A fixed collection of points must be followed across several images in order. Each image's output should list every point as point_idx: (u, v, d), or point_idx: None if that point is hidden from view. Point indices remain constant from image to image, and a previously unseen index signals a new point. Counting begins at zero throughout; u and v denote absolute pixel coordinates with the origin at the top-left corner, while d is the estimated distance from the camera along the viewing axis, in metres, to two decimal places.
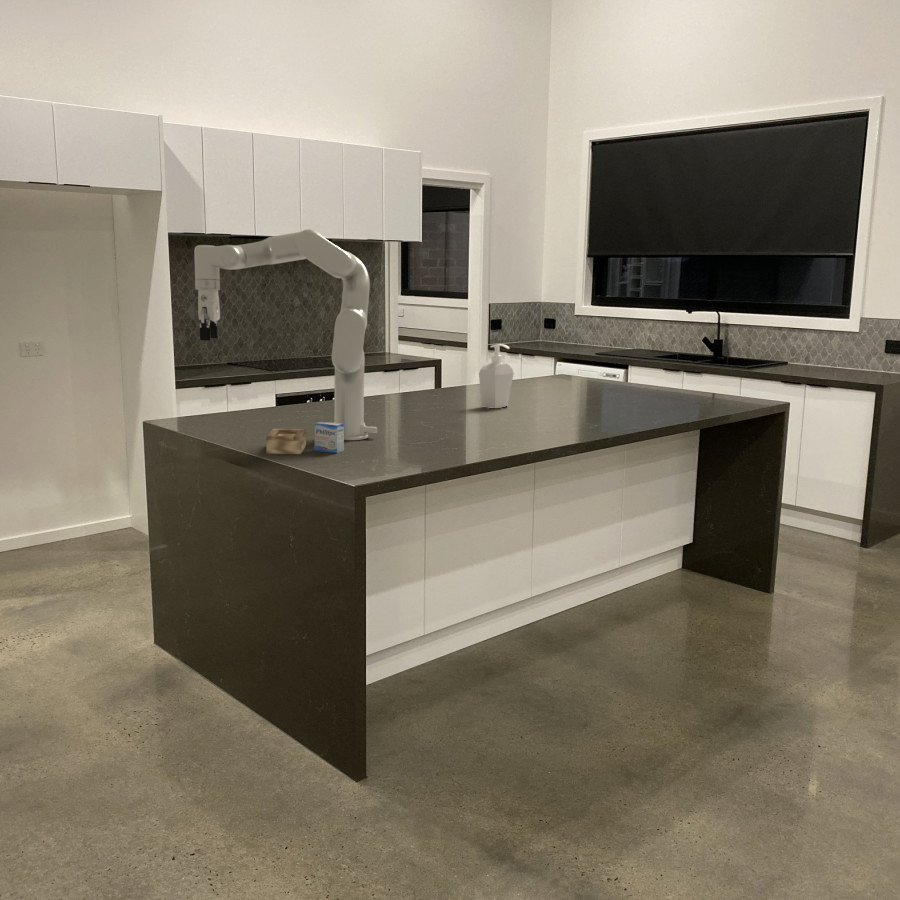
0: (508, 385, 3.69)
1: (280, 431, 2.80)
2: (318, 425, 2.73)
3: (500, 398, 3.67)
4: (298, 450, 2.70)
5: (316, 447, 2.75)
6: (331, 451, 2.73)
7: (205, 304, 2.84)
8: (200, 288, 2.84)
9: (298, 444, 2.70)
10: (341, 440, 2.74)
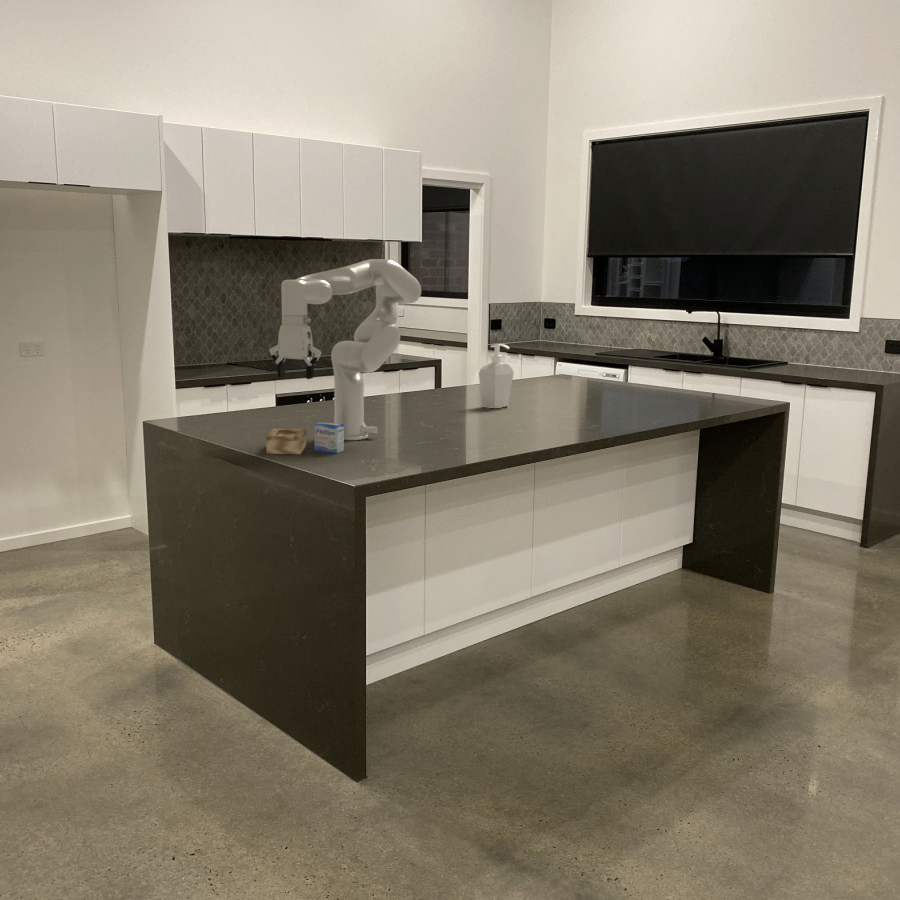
0: (508, 385, 3.69)
1: (280, 431, 2.80)
2: (318, 425, 2.73)
3: (500, 398, 3.67)
4: (298, 450, 2.70)
5: (316, 447, 2.75)
6: (331, 451, 2.73)
7: (310, 341, 2.74)
8: (302, 325, 2.71)
9: (298, 444, 2.70)
10: (341, 440, 2.74)
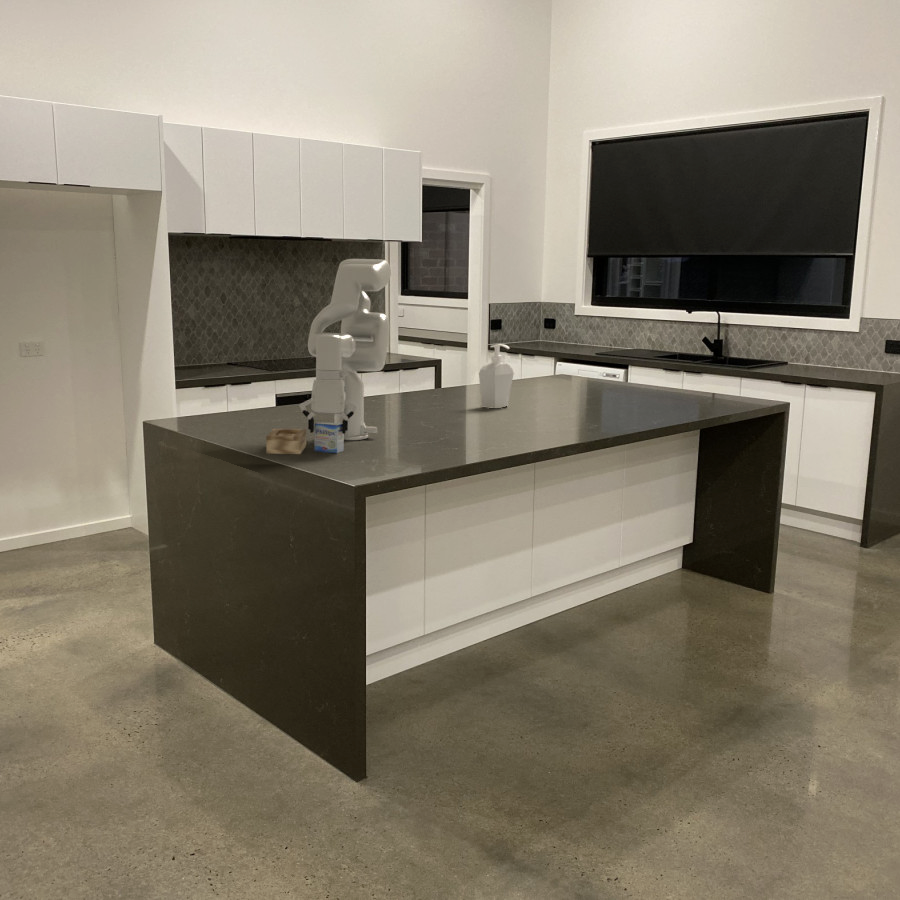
0: (508, 385, 3.69)
1: (280, 431, 2.80)
2: (318, 425, 2.73)
3: (500, 398, 3.67)
4: (298, 450, 2.70)
5: (316, 447, 2.75)
6: (331, 451, 2.73)
7: (345, 395, 2.72)
8: (339, 380, 2.69)
9: (298, 444, 2.70)
10: (341, 440, 2.74)
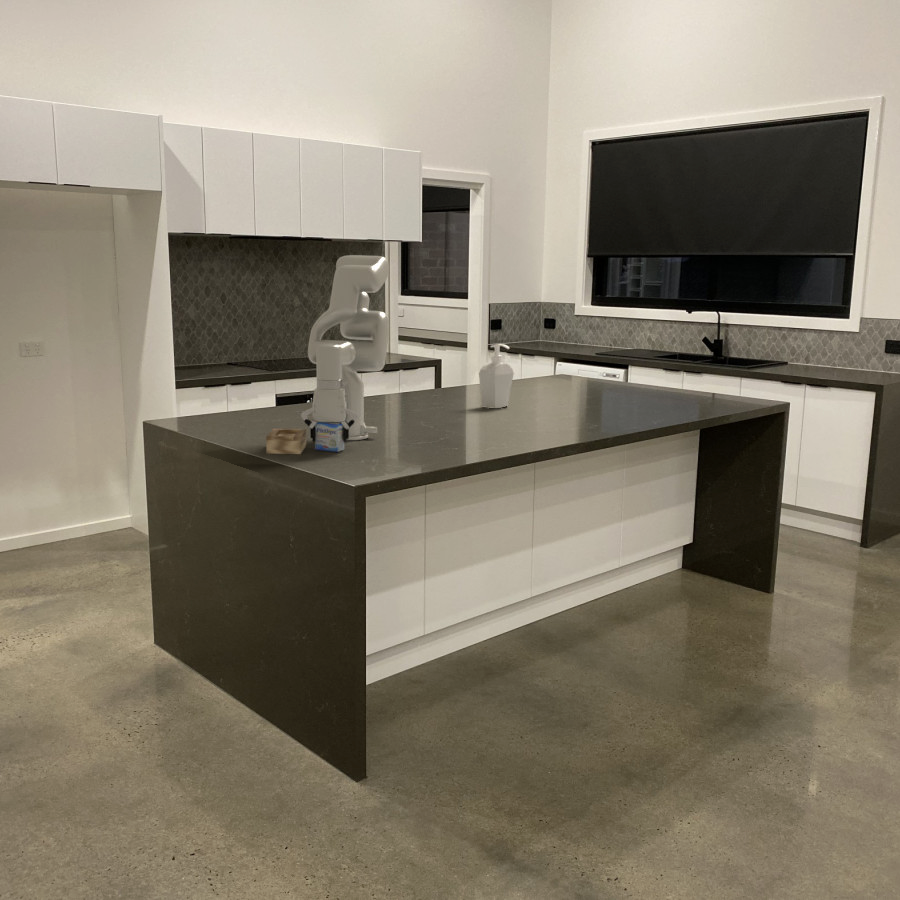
0: (508, 385, 3.69)
1: (280, 431, 2.80)
2: (318, 424, 2.74)
3: (500, 398, 3.67)
4: (298, 450, 2.70)
5: (317, 446, 2.75)
6: (332, 450, 2.74)
7: (346, 404, 2.74)
8: (340, 389, 2.71)
9: (298, 444, 2.70)
10: (341, 439, 2.75)
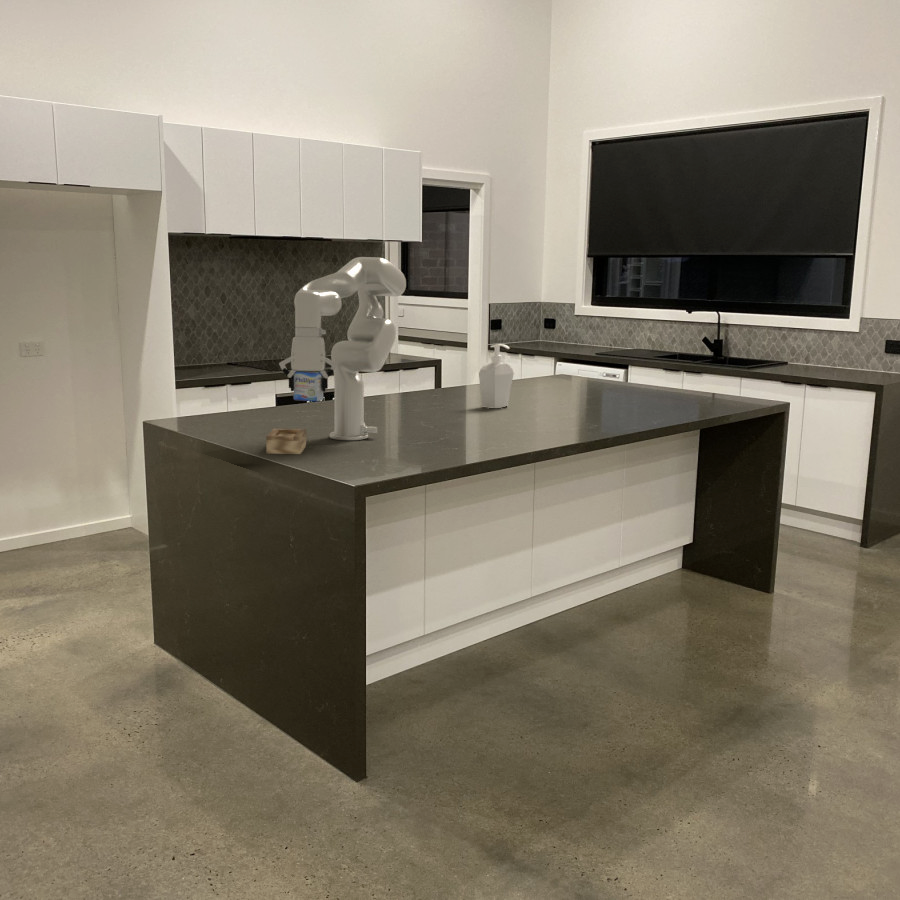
0: (508, 385, 3.69)
1: (280, 431, 2.80)
2: (297, 373, 2.70)
3: (500, 398, 3.67)
4: (298, 450, 2.70)
5: (295, 396, 2.72)
6: (311, 400, 2.70)
7: None
8: (319, 337, 2.68)
9: (298, 444, 2.70)
10: (320, 388, 2.71)
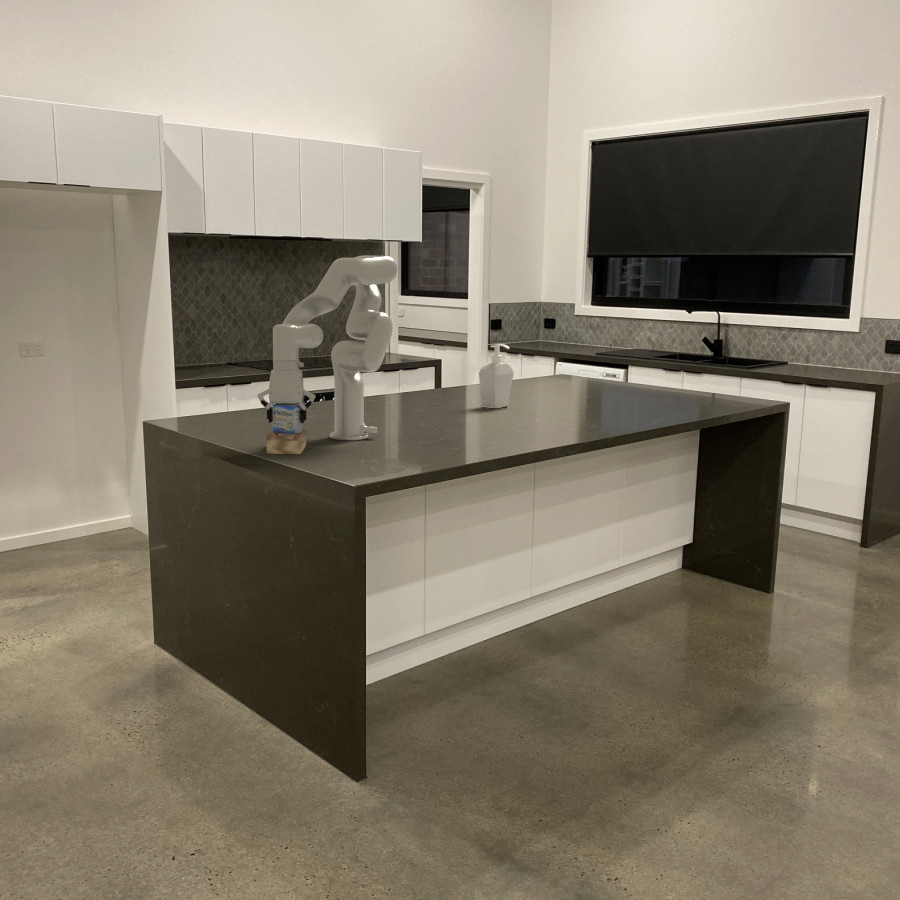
0: (508, 385, 3.69)
1: None
2: (276, 406, 2.73)
3: (500, 398, 3.67)
4: (298, 450, 2.70)
5: (274, 428, 2.74)
6: (289, 432, 2.73)
7: (303, 385, 2.73)
8: (297, 370, 2.70)
9: (298, 444, 2.70)
10: (299, 421, 2.74)
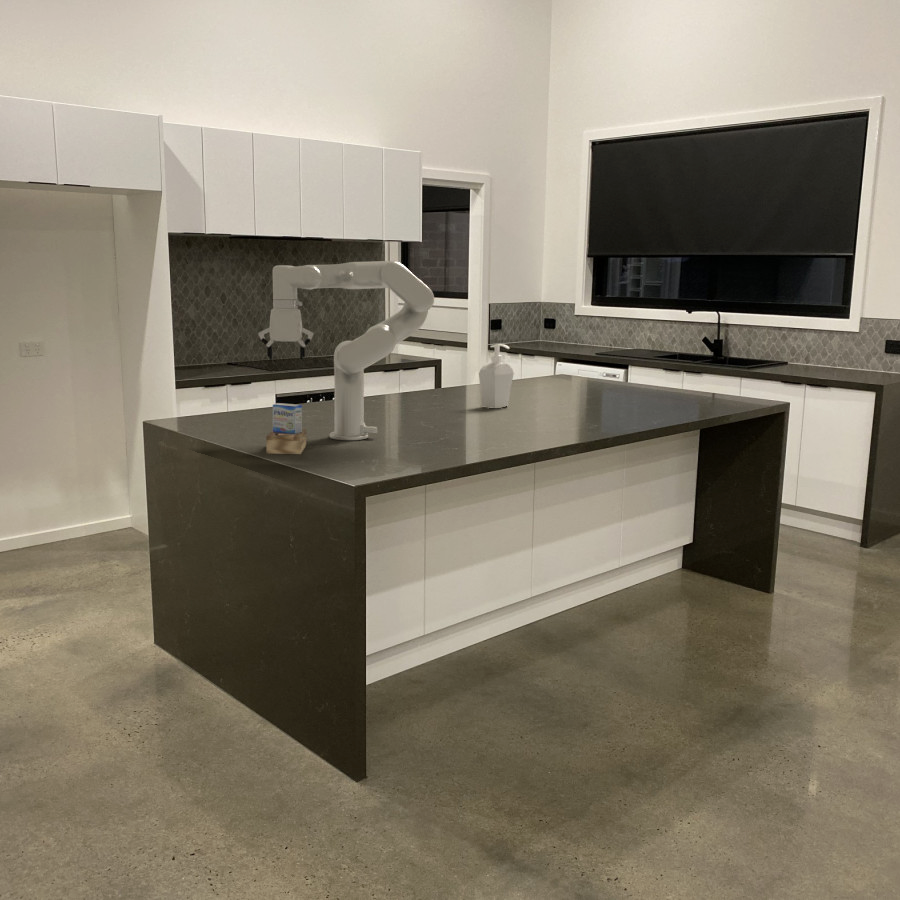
0: (508, 385, 3.69)
1: None
2: (276, 406, 2.73)
3: (500, 398, 3.67)
4: (298, 450, 2.70)
5: (274, 428, 2.74)
6: (289, 432, 2.73)
7: (301, 324, 2.88)
8: (296, 308, 2.86)
9: (298, 444, 2.70)
10: (299, 421, 2.74)
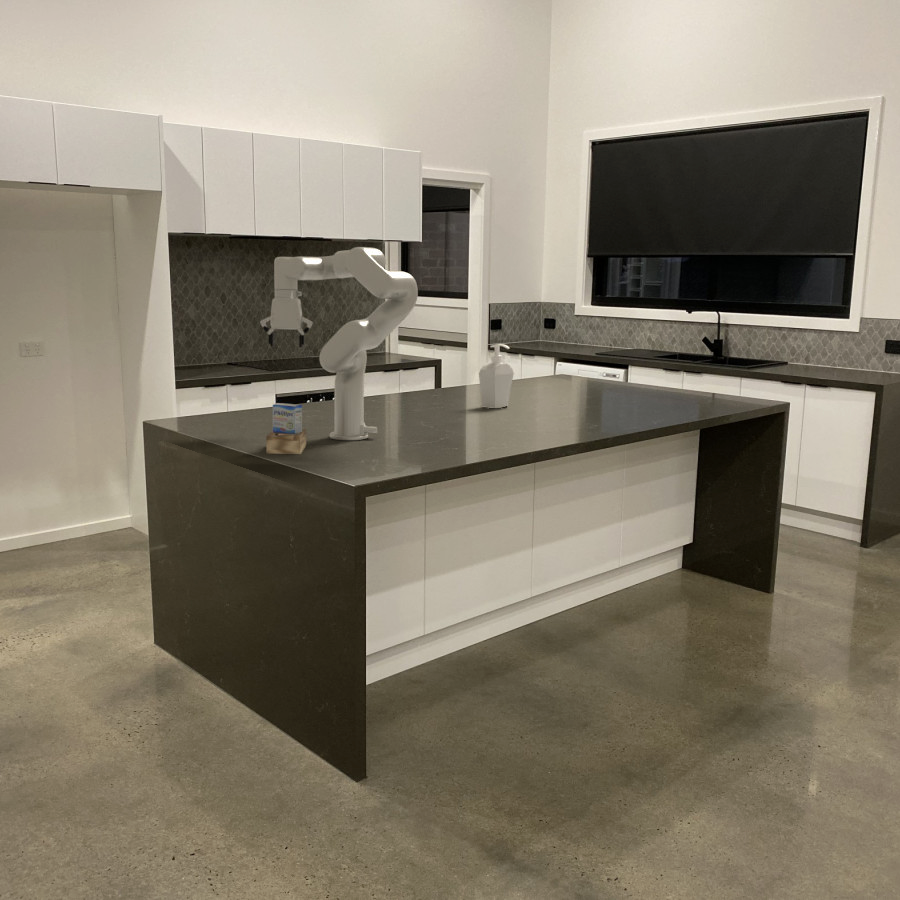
0: (508, 385, 3.69)
1: None
2: (276, 406, 2.73)
3: (500, 398, 3.67)
4: (298, 450, 2.70)
5: (274, 428, 2.74)
6: (289, 432, 2.73)
7: (301, 313, 3.02)
8: (296, 298, 2.99)
9: (298, 444, 2.70)
10: (299, 421, 2.74)
